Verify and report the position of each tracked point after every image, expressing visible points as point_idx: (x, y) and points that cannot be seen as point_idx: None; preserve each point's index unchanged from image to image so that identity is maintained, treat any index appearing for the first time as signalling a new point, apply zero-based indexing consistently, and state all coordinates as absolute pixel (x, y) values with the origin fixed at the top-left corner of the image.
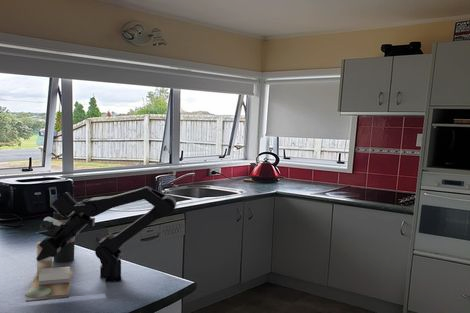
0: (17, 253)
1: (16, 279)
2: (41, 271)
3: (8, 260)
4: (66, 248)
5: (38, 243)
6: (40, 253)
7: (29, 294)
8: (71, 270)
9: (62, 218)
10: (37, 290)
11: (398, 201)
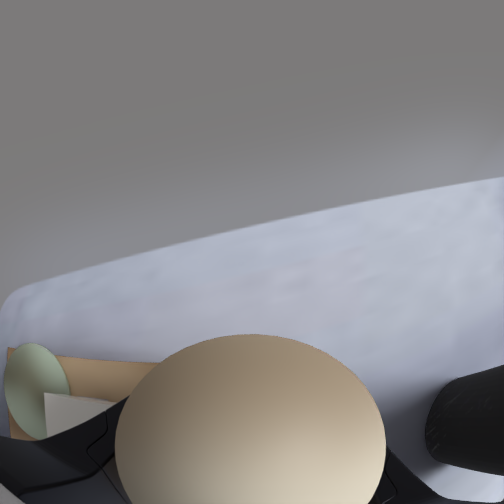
0: (499, 210)
1: (259, 270)
2: (90, 410)
3: (454, 195)
4: (486, 460)
5: (231, 368)
6: (118, 409)
7: (19, 358)
8: None
9: None
10: (42, 388)
11: None
